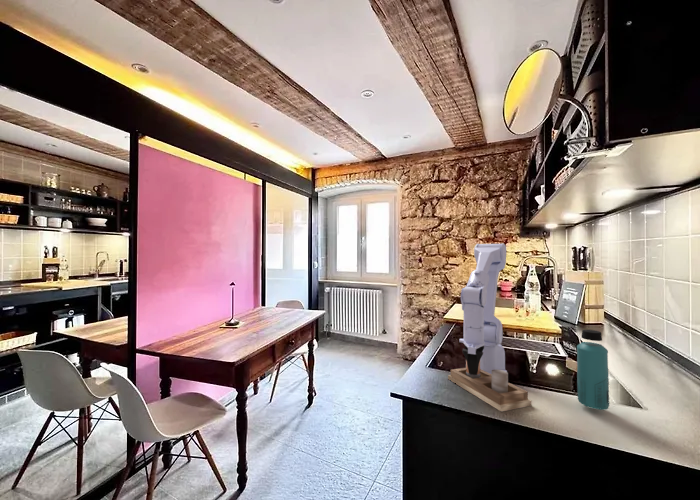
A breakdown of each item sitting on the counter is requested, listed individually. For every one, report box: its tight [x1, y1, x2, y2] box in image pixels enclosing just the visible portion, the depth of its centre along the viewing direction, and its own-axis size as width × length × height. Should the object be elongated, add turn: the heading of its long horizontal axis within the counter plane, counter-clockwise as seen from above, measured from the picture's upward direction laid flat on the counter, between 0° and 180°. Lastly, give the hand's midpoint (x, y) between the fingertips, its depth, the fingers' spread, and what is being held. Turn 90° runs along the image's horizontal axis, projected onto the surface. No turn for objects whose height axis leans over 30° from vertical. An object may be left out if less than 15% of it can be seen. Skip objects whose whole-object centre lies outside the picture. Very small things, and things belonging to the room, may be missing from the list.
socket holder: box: [447, 367, 532, 412], centre depth 88 cm, size 10×21×7 cm, turn 19°
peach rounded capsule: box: [465, 360, 481, 379], centre depth 93 cm, size 4×4×7 cm
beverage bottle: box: [576, 329, 611, 411], centre depth 78 cm, size 6×7×20 cm
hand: (473, 371), depth 92 cm, fingers closed on peach rounded capsule, 4 cm apart
